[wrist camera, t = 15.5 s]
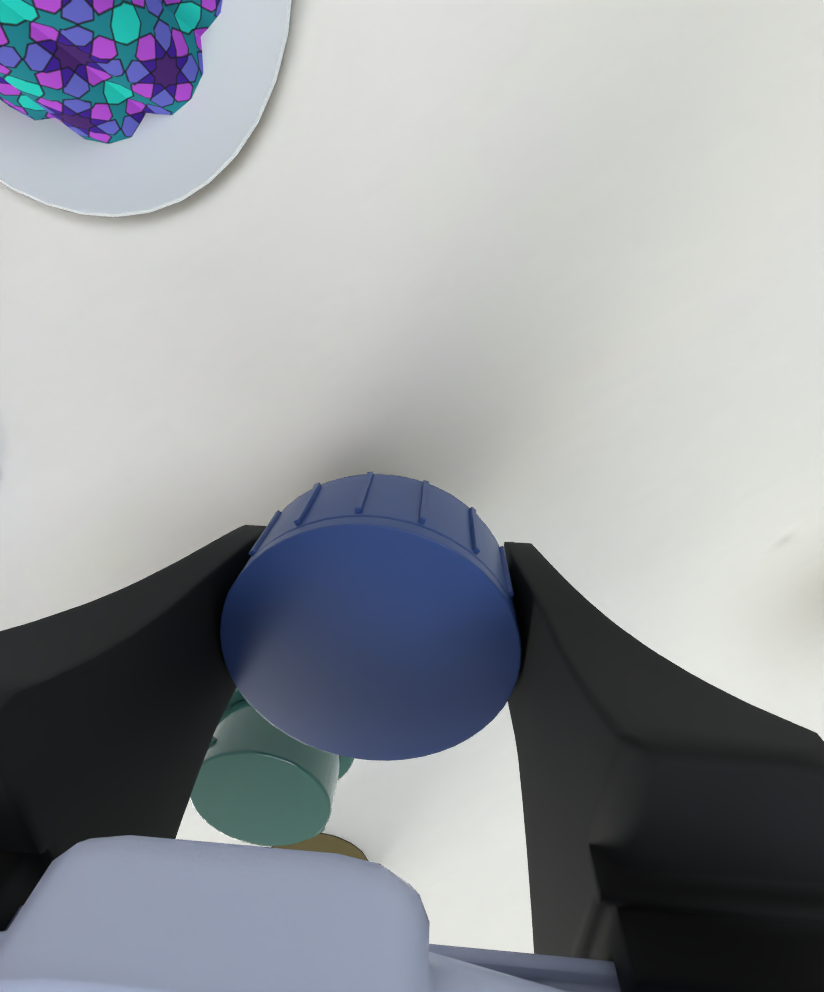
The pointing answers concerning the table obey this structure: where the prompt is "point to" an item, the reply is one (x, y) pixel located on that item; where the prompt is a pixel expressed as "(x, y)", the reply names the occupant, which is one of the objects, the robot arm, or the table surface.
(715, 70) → the table surface
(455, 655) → the lid
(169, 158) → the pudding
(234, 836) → the jar
